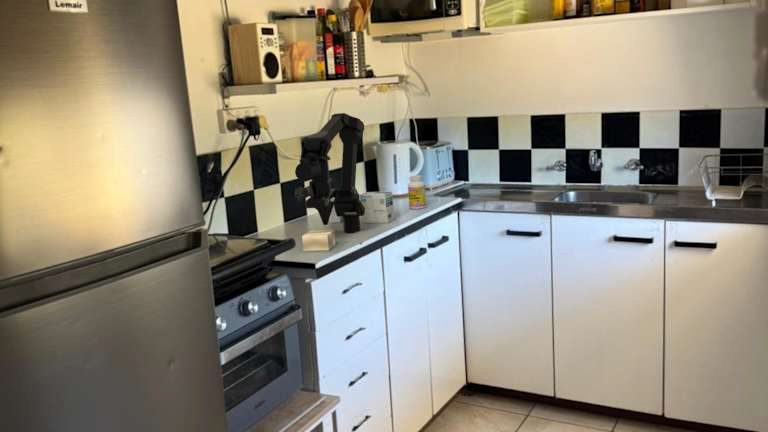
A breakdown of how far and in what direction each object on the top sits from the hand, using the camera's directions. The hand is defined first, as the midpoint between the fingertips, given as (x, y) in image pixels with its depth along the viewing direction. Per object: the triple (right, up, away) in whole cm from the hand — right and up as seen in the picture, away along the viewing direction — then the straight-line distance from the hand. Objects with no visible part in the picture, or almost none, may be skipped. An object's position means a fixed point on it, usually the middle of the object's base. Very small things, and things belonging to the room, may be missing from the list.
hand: (325, 224), depth 228 cm
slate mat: (-1, -8, -5) cm, 9 cm away
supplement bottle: (+32, +6, +58) cm, 66 cm away
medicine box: (+1, +1, +44) cm, 44 cm away
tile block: (-1, -4, -3) cm, 5 cm away
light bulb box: (+17, +1, +36) cm, 39 cm away
